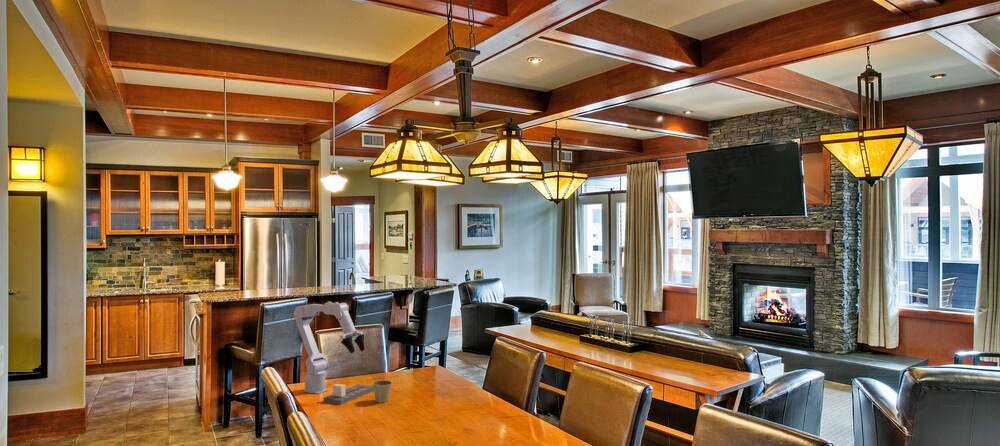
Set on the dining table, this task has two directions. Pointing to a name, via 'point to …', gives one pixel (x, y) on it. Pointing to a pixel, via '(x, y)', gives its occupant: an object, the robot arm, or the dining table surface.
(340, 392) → the fader
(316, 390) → the robot arm
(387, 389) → the flower pot
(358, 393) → the console
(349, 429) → the dining table surface
